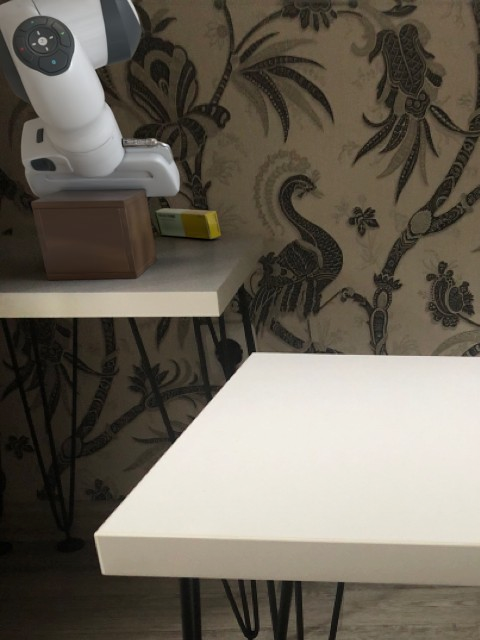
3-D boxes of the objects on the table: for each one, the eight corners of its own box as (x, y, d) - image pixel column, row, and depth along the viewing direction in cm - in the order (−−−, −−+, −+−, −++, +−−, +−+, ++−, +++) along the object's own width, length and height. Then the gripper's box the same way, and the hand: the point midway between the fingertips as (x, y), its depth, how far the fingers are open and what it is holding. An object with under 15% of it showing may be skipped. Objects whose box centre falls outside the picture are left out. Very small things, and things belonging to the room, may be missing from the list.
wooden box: (75, 262, 133) (61, 190, 128) (157, 260, 133) (145, 188, 129) (48, 280, 121) (30, 202, 116) (137, 278, 122) (123, 200, 117)
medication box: (159, 236, 154) (152, 210, 152) (170, 232, 156) (164, 207, 153) (211, 239, 148) (205, 213, 146) (222, 235, 150) (217, 209, 148)
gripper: (167, 119, 123) (190, 190, 136) (11, 122, 122) (50, 193, 135) (167, 159, 121) (190, 226, 135) (9, 162, 120) (48, 230, 134)
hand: (119, 210), depth 135 cm, fingers closed
